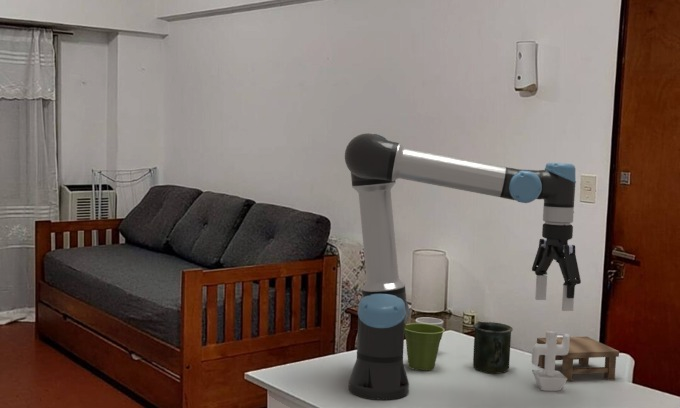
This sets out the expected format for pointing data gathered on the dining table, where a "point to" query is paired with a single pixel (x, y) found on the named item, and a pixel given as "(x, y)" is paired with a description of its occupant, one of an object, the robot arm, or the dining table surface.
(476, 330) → the mug
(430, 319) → the dixie cup
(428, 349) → the plant pot
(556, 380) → the figurine
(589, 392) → the dining table surface
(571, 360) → the walnut stool
